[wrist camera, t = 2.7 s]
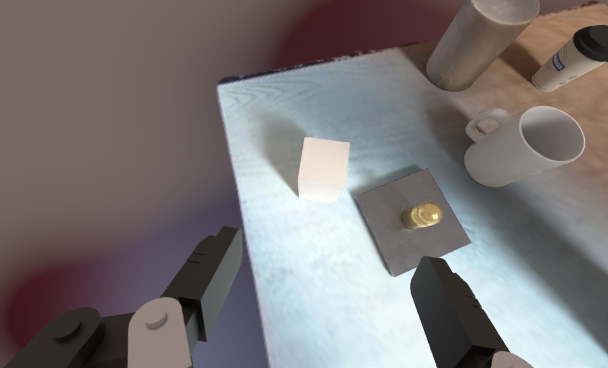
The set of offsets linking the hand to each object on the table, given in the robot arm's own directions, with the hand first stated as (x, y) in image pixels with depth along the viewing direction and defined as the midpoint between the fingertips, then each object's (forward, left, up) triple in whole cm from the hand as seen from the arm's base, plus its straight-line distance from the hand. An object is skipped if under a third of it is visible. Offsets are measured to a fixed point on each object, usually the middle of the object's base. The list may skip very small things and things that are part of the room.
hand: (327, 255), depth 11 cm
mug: (-34, -4, -27) cm, 44 cm away
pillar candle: (-39, -22, -27) cm, 52 cm away
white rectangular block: (-6, -10, -27) cm, 29 cm away
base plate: (-17, +1, -27) cm, 32 cm away
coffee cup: (-55, -13, -27) cm, 63 cm away
